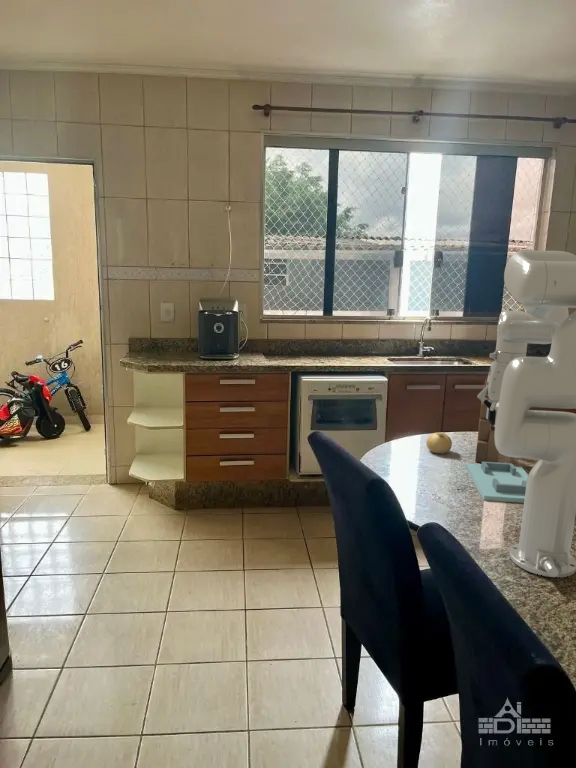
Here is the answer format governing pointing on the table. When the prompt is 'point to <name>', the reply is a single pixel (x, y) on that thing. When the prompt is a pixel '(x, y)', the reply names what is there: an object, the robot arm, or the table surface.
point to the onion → (439, 443)
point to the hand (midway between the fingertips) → (502, 423)
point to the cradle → (499, 481)
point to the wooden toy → (486, 437)
